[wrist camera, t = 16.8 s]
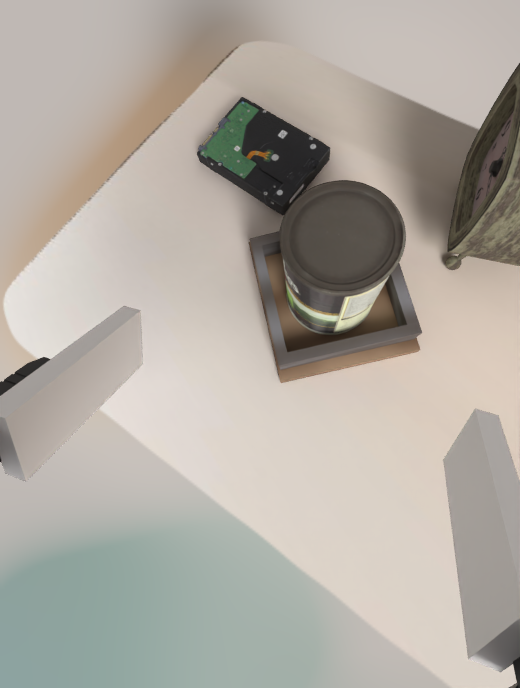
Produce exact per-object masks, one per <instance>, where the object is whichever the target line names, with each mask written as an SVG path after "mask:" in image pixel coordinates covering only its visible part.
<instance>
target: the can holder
mask: <svg viewBox="0 0 520 688" xmlns="http://www.w3.org/2000/svg"><path fill="white" fill-rule="evenodd" d="M279 235H280V231H279V232H275V233H271V234H267V235H263V236H259V237H255V238H251V239H250V242H249V246H250V251H251V255H252V259H253V264H254V268H255V273H256V277H257V281H258V286H259V290H260V294H261V299H262V303H263V308H264V312H265V316H266V321H267V325H268V330H269V334H270V338H271V343H272V347H273V352H274V356H275V360H276V365H277V369H278V374H279V378H280V382H281V383H283V382H287V381H292V380H296V379H300V378H305V377H309V376H314V375H318V374H322V373H327V372H331V371H335V370H340V369H344V368H349V367H353V366H357V365H362V364H366V363H370V362H375V361H379V360H384V359H388V358H392V357H397V356H401V355H405V354H410V353H414V352H418V351H419V350H420V347H419V344H418V341H417V338H416V337H417V336H419V335H420V334H421V333H422V331H421V328H420V325H419V322H418V319H417V316H416V313H415V310H414V307H413V304H412V301H411V298H410V295H409V292H408V289H407V286H406V282H405V279H404V276H403V273H402V270H401V267H400V264H399V263H398V265H397V266H396V268H395V269H394V271H393V272H392V273H391V274H390V275H389V277H388V279H387V281H386V282H385V284H384V286H383V288H382V289H381V291H380V293H379V295H378V297H377V298H376V300H375V302H374V304H373V305H372V308H371V310H370V312H369V314H368V316H367V317H366V319H365V320H364V321H363V322H362V323H361V324H360V325H358V326H357V327H355V328H354V329H352V330H350V331H348V332H346V333H342V334H338V335H324V334H318V333H315V332H312V331H310V330H308V329H307V328H305V327H303V326H302V325H301V324H300V323H299V322H298V321H297V320H296V319H295V318H294V316H293V315H292V313H291V311H290V309H289V306H288V303H287V297H286V294H287V289H286V280H285V271H284V264H283V257H282V253H281V249H280V240H279Z"/></svg>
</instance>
